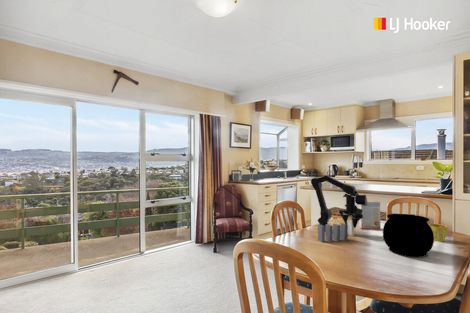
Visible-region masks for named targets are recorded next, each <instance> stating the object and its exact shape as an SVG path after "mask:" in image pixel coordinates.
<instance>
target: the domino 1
mask: <svg viewBox="0 0 470 313" xmlns="http://www.w3.org/2000/svg"><path fill="white" fill-rule="evenodd" d="M317 241H318V242H321V243H326V242H325V241H326V240H325V226H323V225H319V224H317Z"/></svg>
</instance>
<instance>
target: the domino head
mask: <svg viewBox="0 0 470 313" xmlns="http://www.w3.org/2000/svg"><path fill="white" fill-rule="evenodd" d="M347 225H348V236H351V237H354V236H355V228H354V226H353V222H352V219H348V220H347Z"/></svg>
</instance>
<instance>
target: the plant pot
mask: <svg viewBox="0 0 470 313" xmlns="http://www.w3.org/2000/svg"><path fill="white" fill-rule="evenodd" d="M428 224H429V226H430V227H431V229H432V231H433V234H434V242H438V243H442V242H443V243H444V242H445V240H446V236H447V233H448V232H449V227H448V226H447V225H445V224H442V223H441V224H438V223H428Z"/></svg>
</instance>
